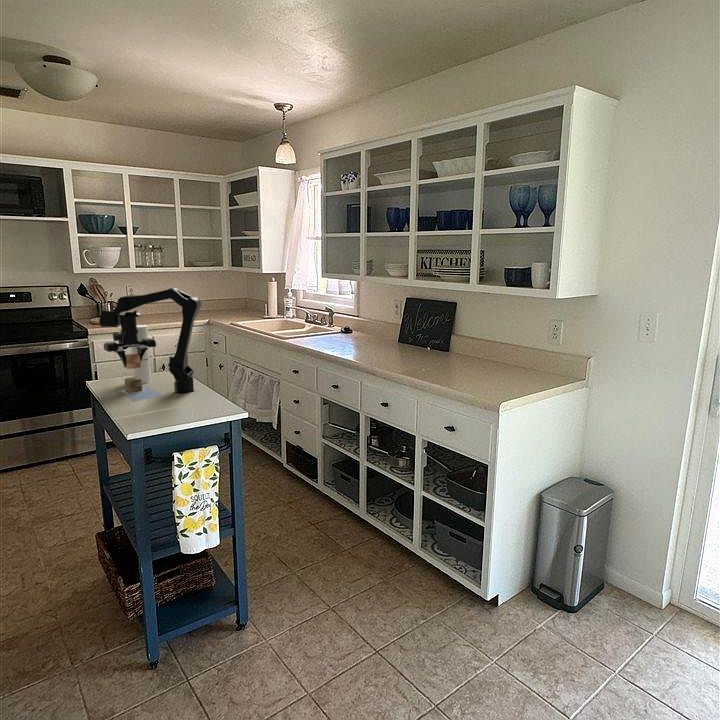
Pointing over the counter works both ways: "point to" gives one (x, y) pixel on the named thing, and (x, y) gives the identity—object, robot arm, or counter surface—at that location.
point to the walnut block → (133, 384)
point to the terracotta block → (132, 361)
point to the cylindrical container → (144, 371)
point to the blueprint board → (142, 394)
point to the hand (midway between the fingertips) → (132, 365)
